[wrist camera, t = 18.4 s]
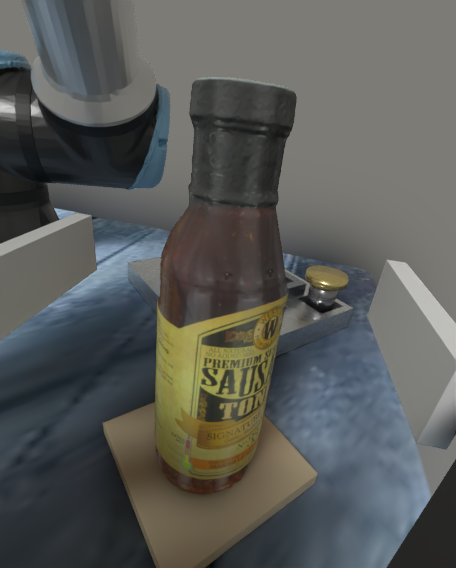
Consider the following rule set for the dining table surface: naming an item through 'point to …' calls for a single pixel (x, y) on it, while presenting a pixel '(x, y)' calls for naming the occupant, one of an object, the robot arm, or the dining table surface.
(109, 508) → the dining table surface
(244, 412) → the sauce bottle
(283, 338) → the housing
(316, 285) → the plunger
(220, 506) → the cork pad
